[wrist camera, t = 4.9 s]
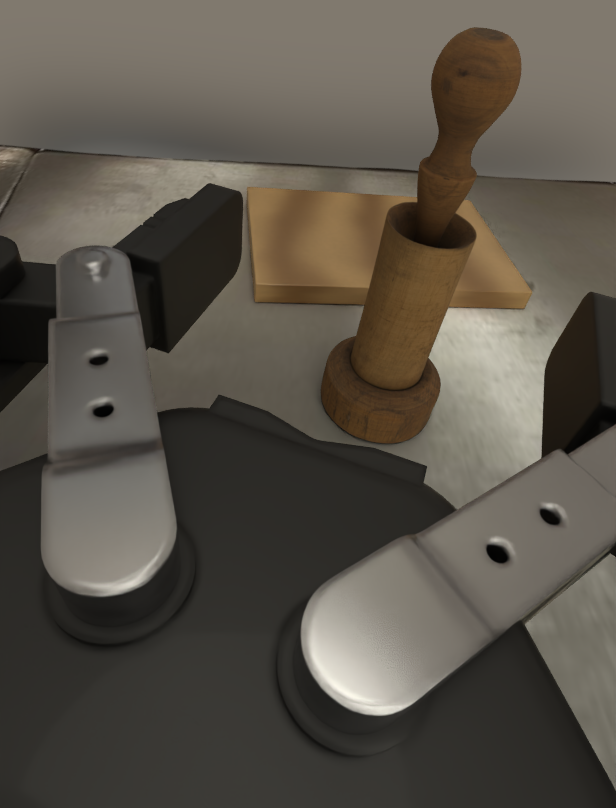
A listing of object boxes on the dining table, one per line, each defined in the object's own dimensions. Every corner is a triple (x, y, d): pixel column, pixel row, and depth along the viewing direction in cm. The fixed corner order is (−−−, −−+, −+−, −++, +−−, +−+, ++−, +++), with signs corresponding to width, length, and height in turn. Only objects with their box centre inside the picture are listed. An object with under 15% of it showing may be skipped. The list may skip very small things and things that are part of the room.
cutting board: (464, 215, 48) (470, 200, 47) (524, 309, 39) (533, 292, 38) (246, 203, 45) (246, 186, 44) (254, 302, 36) (255, 283, 34)
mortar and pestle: (444, 443, 29) (627, 72, 16) (328, 446, 28) (423, 49, 15) (413, 361, 33) (537, 18, 20) (313, 360, 32) (375, -2, 19)
